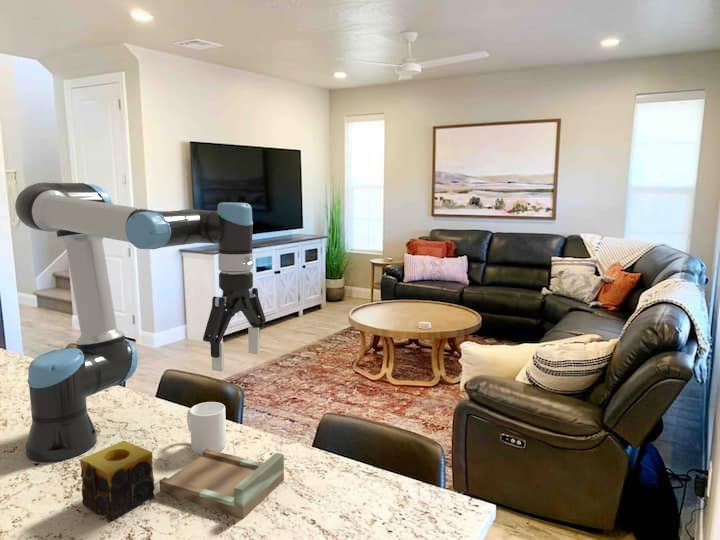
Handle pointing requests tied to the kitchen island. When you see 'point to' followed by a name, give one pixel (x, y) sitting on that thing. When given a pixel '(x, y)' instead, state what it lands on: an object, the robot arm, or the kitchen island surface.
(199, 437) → the cup
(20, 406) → the kitchen island surface
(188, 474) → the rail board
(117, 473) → the candle
